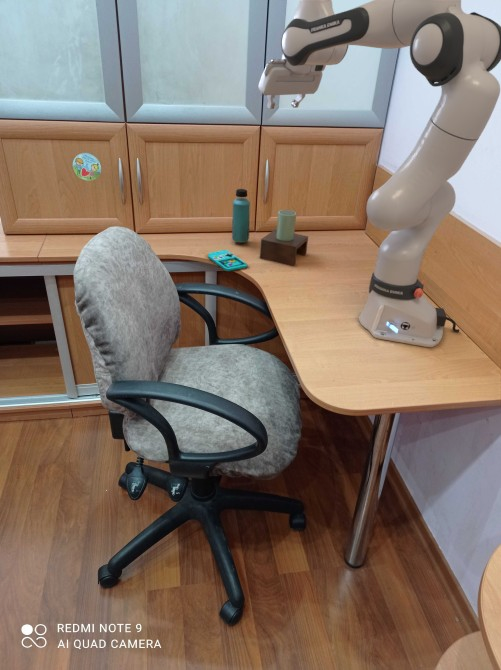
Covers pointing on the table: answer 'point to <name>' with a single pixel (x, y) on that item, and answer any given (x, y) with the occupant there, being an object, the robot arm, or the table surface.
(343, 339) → the table surface
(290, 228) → the tumbler
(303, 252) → the stand
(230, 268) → the handheld gaming console
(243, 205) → the beverage bottle
